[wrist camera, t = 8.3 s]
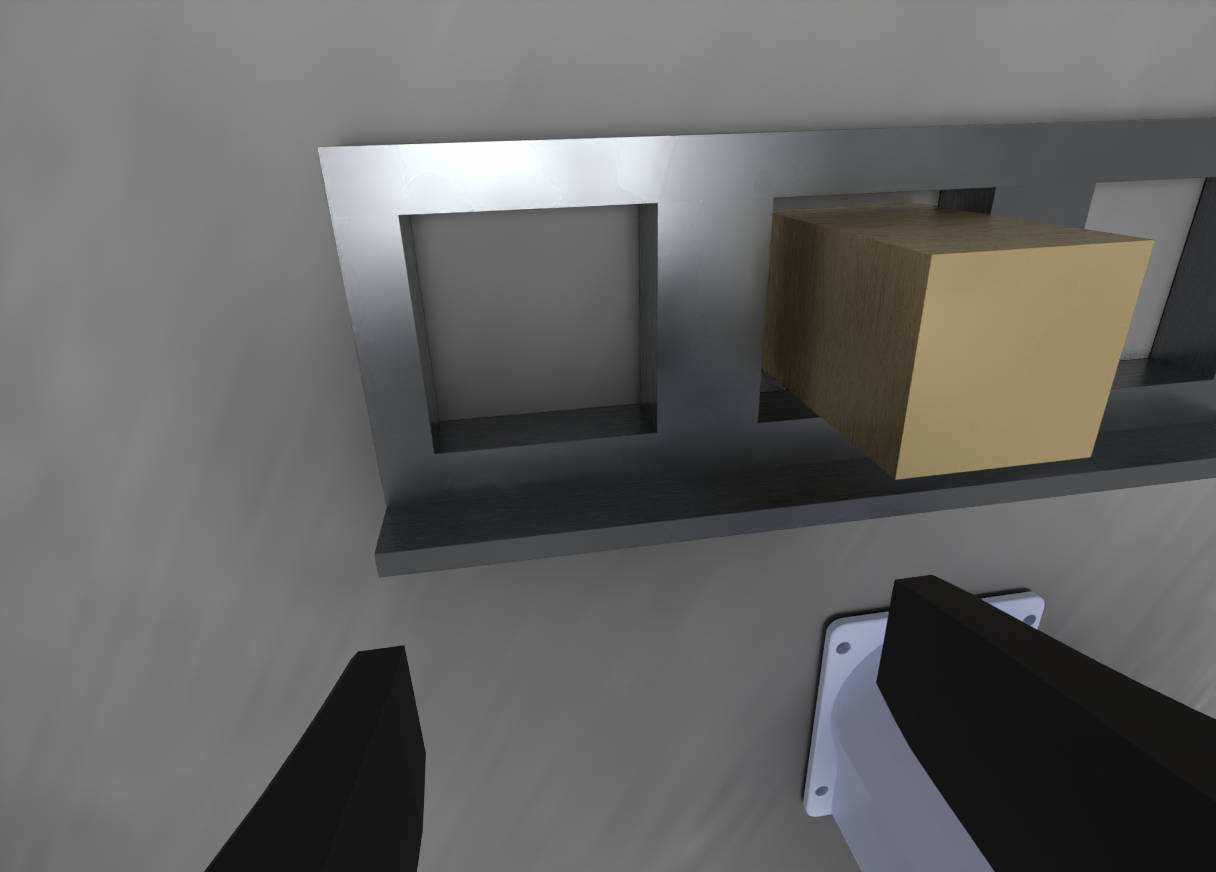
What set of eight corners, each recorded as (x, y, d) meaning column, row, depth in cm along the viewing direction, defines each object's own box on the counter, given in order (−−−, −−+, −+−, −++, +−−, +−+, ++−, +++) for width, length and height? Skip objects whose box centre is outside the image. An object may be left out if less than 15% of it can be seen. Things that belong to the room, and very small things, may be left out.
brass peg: (890, 350, 19) (1090, 457, 13) (755, 362, 18) (895, 479, 12) (911, 202, 17) (1154, 239, 11) (764, 211, 17) (931, 255, 10)
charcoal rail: (1166, 411, 21) (1303, 466, 18) (400, 489, 18) (379, 577, 15) (1268, 116, 18) (1465, 110, 14) (338, 145, 15) (290, 149, 11)
